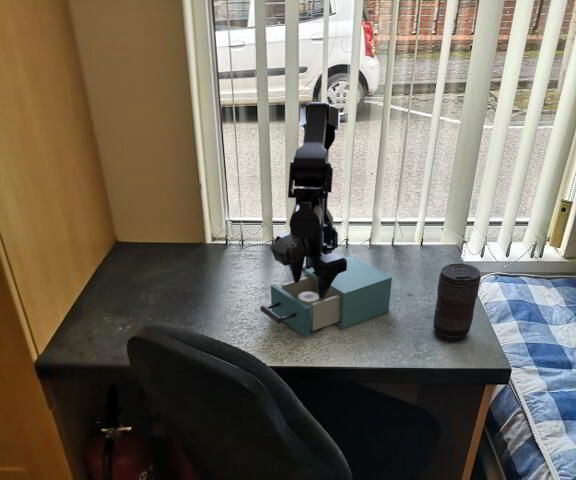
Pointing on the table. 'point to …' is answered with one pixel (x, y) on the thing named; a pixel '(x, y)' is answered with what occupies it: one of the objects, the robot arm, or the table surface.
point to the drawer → (303, 306)
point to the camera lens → (456, 301)
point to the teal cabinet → (360, 291)
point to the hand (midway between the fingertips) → (308, 289)
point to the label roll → (308, 298)
